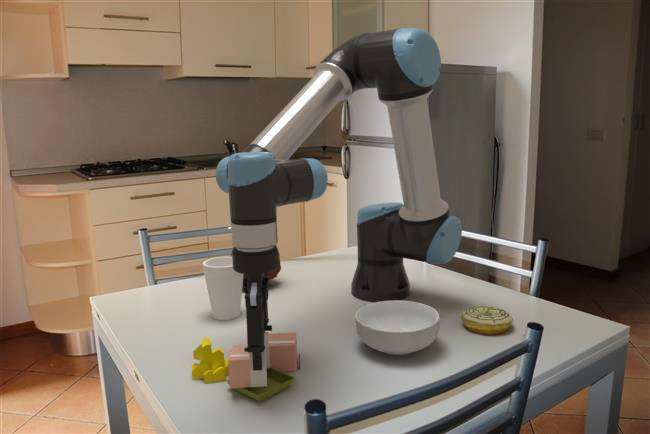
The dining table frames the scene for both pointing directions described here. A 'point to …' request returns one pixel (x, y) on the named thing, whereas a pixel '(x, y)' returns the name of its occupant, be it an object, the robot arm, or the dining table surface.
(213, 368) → the yellow faceted figurine
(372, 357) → the dining table surface
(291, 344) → the pink striped box
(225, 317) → the foam cup
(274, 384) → the green square tray
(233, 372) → the pink box
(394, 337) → the cereal bowl
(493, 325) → the decorated donut
